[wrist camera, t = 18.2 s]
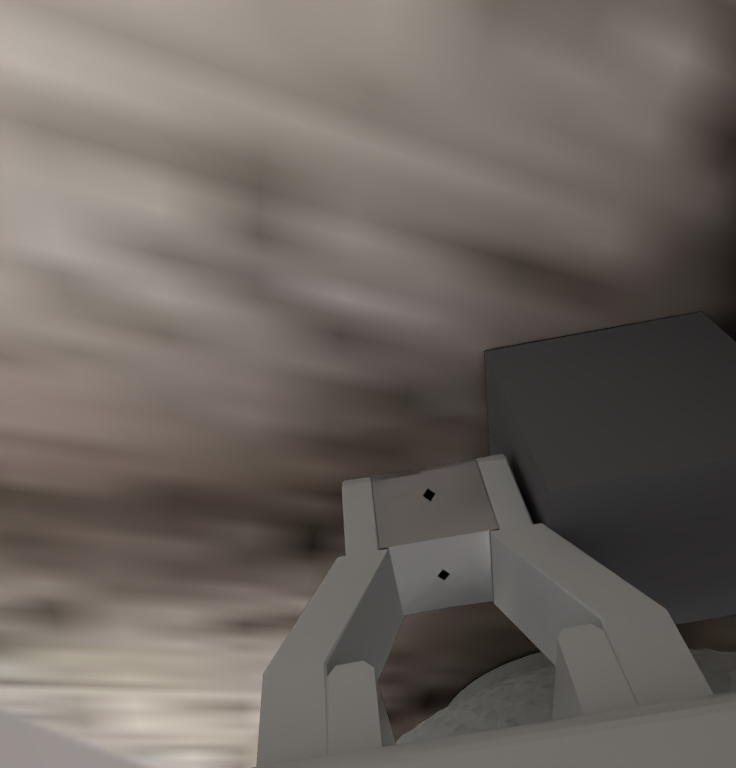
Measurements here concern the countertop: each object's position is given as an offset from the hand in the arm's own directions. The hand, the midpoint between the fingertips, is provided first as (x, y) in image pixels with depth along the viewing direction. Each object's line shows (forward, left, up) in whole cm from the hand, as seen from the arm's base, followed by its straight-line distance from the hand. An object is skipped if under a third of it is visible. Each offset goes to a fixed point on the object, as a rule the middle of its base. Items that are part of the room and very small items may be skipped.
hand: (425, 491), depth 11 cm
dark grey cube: (-4, 0, -2) cm, 4 cm away
